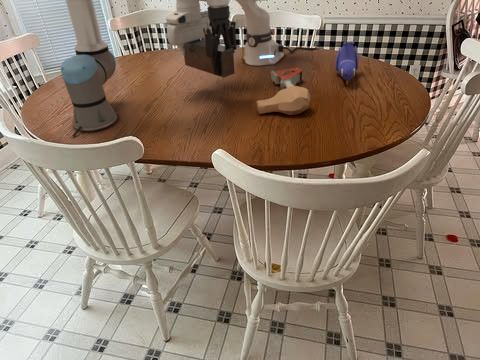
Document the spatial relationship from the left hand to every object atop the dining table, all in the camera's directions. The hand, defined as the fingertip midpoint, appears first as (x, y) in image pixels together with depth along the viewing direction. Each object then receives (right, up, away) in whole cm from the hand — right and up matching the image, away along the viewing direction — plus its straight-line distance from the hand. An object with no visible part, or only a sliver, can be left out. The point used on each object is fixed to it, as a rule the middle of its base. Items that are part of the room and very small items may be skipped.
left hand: (223, 72), depth 134 cm
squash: (+22, -15, -2) cm, 27 cm away
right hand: (-12, +10, +7) cm, 18 cm away
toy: (+53, +3, +21) cm, 57 cm away
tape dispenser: (+26, -1, +17) cm, 31 cm away
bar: (-6, +3, +5) cm, 9 cm away
